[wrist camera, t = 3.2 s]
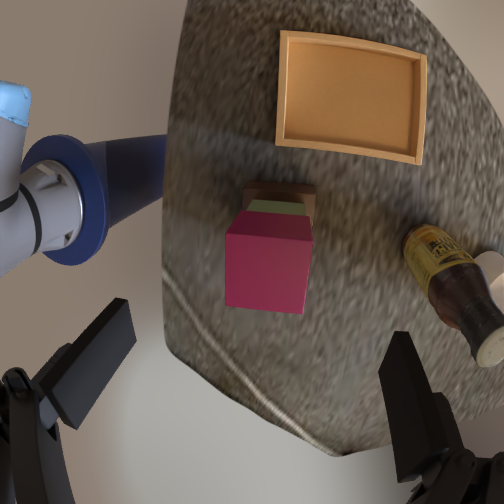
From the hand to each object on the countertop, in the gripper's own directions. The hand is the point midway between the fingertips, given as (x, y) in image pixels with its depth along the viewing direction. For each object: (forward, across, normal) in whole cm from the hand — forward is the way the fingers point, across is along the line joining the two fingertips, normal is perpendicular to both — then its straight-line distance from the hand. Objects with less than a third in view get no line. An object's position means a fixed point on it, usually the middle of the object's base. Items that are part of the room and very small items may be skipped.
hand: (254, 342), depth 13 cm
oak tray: (+22, +7, +14) cm, 27 cm away
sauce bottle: (+22, +18, -2) cm, 29 cm away
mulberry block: (+12, 0, 0) cm, 12 cm away
